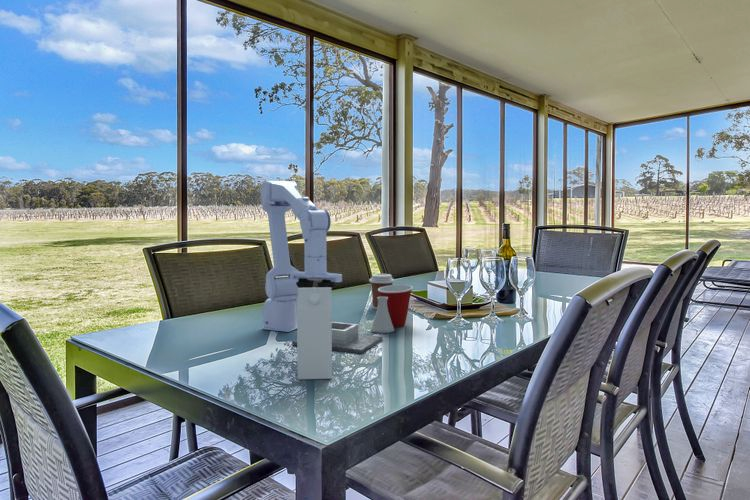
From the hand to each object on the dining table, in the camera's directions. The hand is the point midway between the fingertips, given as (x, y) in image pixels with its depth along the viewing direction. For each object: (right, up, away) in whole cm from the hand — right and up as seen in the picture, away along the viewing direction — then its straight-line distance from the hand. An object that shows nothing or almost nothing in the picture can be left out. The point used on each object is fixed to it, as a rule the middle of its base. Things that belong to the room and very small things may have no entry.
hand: (315, 307), depth 132 cm
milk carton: (+3, -12, -23) cm, 26 cm away
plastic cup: (+22, -8, +23) cm, 33 cm away
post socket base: (+6, -10, +3) cm, 12 cm away
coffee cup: (+18, -6, +51) cm, 54 cm away
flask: (+18, -9, +16) cm, 26 cm away
